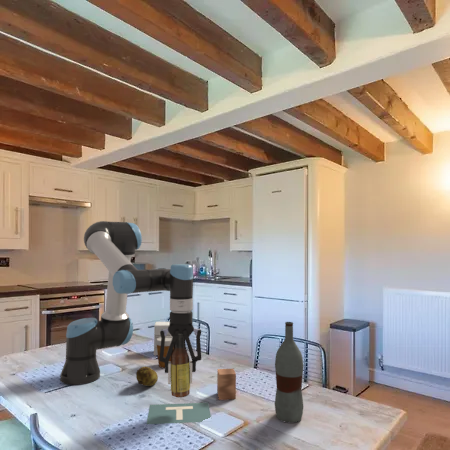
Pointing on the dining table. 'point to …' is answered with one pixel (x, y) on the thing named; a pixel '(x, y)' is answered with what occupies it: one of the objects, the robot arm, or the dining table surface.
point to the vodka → (289, 379)
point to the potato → (146, 376)
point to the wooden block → (226, 384)
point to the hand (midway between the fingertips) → (180, 382)
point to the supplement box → (157, 330)
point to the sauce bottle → (180, 369)
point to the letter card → (178, 413)
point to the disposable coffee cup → (166, 347)
